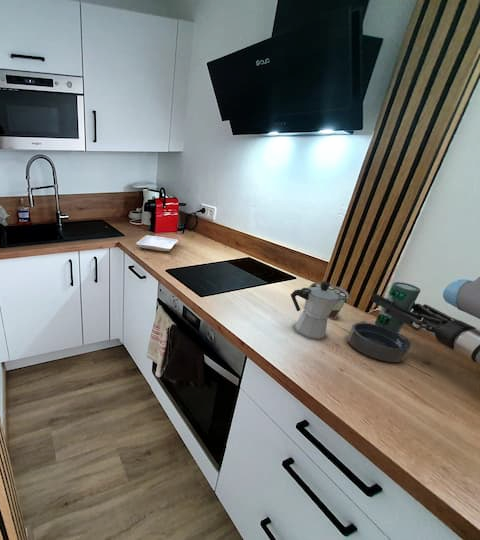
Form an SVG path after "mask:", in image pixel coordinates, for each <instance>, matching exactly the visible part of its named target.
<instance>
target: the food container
mask: <svg viewBox="0 0 480 540" xmlns="http://www.w3.org/2000/svg"><path fill="white" fill-rule="evenodd" d="M321 286H322V282H313V283H311V284H310V285H309V287H319V288H321ZM327 290H331V291H332V292H334V293H336V294H338V295H340V296H342V297H345V298H344V299H342V300H341V301H339V302H338V303H337V304H336V305H335V306H334V308H333V310H332V311H331V313H330V315H329V316H327V318H328V319H332V320H334V321H335V320H336V319H337V317H338V315H339V313H340V312H341V311H342V308H343V306H344V304H345V303H347V302H349V297H350V296H349V292H348V291H346V290H345V289H343V288H341V287H339V286H336V285H334V284H330V286H329V288H328V289H327Z"/></svg>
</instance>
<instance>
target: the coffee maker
mask: <svg viewBox="0 0 480 540" xmlns="http://www.w3.org/2000/svg"><path fill="white" fill-rule="evenodd" d="M321 283H322V286H321V288H319V287H310V286H309V287H302V288H301V289H294V291H292V293H291V294H290V297H291V300H292V302H293V304H294V307H295V309H296V312H300V311H301V307H300V305H299V303H298V300H297V296H298V297H300V298H301V299H304V300H305V303H304V310H303V311H302V313H301V314H300V316H299V317H298V319H297V321H296V322H295V325H294V329H295V331H296V332H297V333H298V334H299V335H302V336H303V337H305V338H307V339H312V340H319V341H320V340H322V339H323V338H326V334H327V333H326V332H327V327H328V319H329V317H327V316H329V315H330V313H331V311H332V310H333V308H334V306H335V305H336V304H337V303H338V302H339V301H341V300H342V299H344V298H345V297H342V296H340V295H338V294H336V293H334V292H332V291H331V290H327V289H328V288H329V286H330V285H331V283H330V282H328V281H321Z"/></svg>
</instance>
